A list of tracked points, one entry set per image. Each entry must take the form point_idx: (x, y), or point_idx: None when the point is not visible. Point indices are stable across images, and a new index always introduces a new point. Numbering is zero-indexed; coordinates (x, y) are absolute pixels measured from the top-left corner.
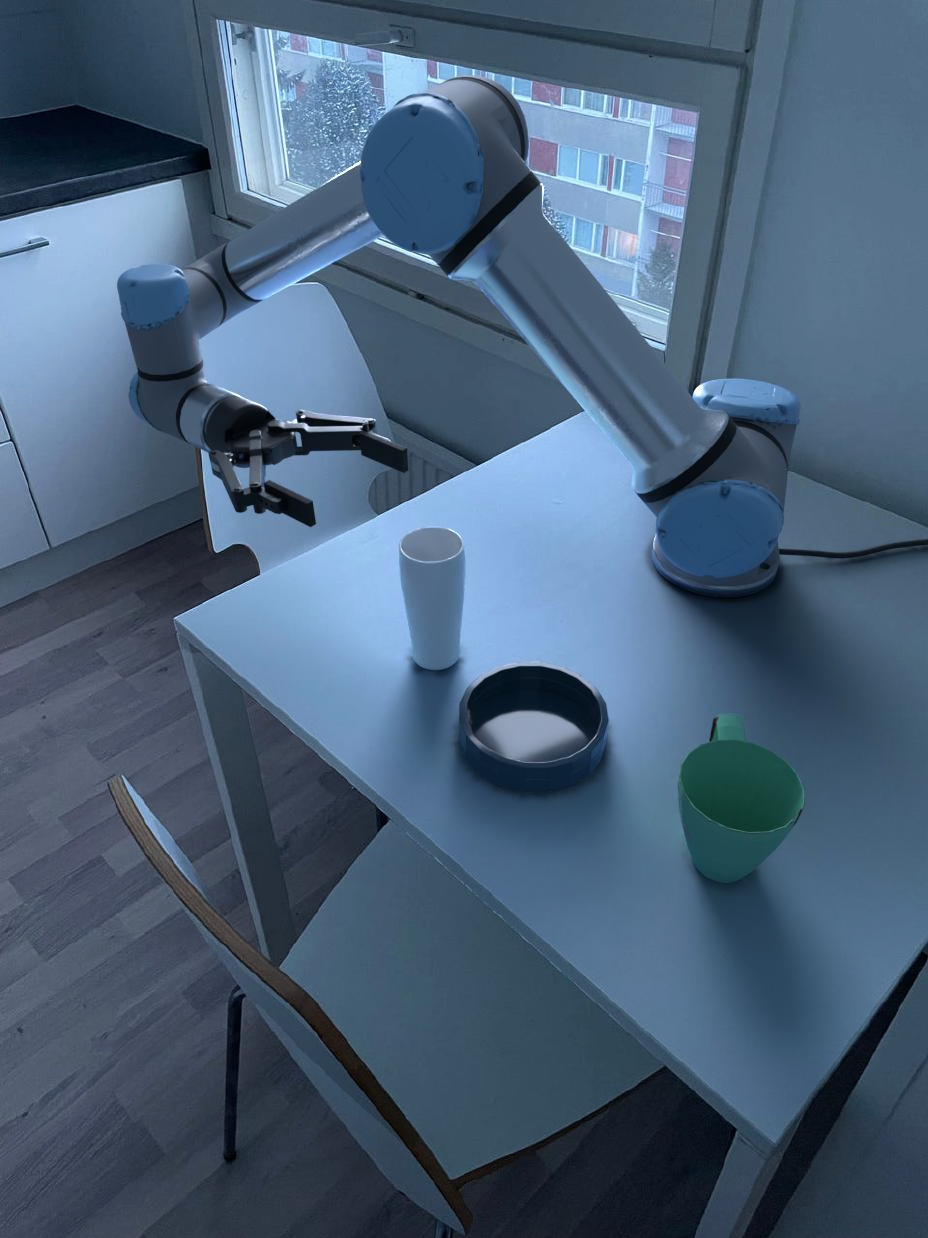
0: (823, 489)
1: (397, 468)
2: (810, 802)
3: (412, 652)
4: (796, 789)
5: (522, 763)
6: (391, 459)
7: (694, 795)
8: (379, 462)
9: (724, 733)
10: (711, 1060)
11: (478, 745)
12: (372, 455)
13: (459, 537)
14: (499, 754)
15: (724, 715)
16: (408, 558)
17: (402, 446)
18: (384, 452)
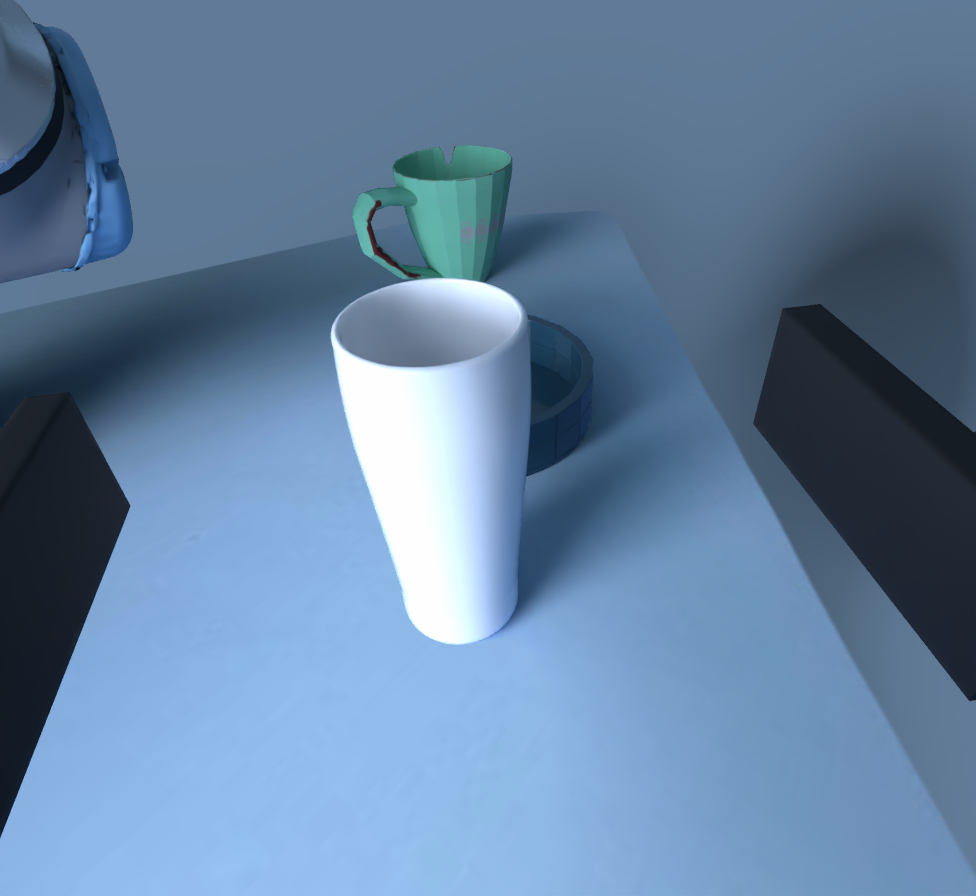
0: None
1: (112, 529)
2: (341, 275)
3: (514, 597)
4: (412, 166)
5: (559, 328)
6: (78, 530)
7: (452, 240)
8: (67, 664)
9: (395, 191)
10: (608, 229)
11: (588, 361)
12: (24, 708)
13: (348, 310)
14: (543, 407)
15: (372, 195)
16: (524, 311)
17: (9, 421)
18: (41, 555)
